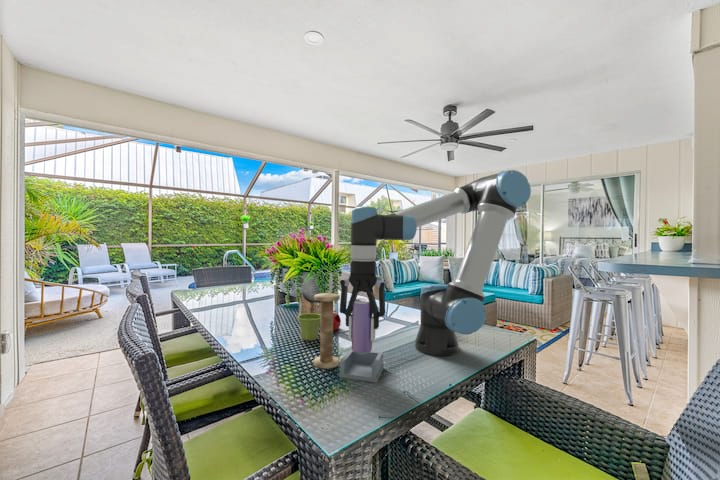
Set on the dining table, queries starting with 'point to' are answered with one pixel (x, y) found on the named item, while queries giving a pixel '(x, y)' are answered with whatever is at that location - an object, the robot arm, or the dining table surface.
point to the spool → (326, 331)
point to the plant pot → (309, 326)
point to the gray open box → (362, 366)
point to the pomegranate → (336, 321)
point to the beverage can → (361, 326)
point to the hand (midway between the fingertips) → (362, 338)
